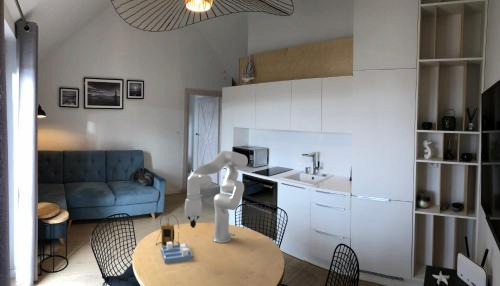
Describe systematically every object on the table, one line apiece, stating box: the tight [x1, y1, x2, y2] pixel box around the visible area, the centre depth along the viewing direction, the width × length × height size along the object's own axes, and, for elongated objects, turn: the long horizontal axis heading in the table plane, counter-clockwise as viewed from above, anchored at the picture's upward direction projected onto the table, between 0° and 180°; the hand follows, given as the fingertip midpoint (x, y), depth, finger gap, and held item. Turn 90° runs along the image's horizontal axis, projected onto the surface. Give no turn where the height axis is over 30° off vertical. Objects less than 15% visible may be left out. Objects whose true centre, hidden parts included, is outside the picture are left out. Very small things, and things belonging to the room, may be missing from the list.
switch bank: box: [160, 243, 194, 264], centre depth 194 cm, size 16×18×3 cm
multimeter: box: [155, 214, 181, 246], centre depth 211 cm, size 15×10×20 cm
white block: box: [166, 241, 174, 250], centre depth 198 cm, size 3×4×4 cm
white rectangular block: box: [179, 243, 186, 252], centre depth 195 cm, size 3×4×4 cm
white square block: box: [182, 247, 188, 256], centre depth 190 cm, size 3×4×4 cm
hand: (193, 227), depth 193 cm, fingers closed
